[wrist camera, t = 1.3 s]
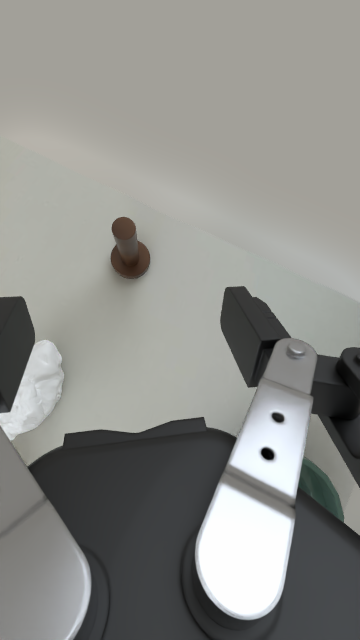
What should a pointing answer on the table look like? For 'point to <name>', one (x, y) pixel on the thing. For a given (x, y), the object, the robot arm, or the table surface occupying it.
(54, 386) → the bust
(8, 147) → the table surface
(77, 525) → the robot arm
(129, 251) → the wooden peg stand
